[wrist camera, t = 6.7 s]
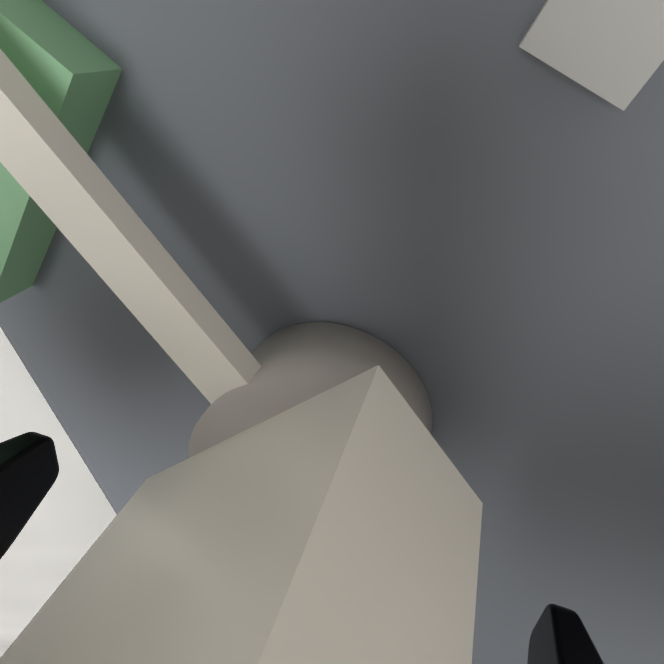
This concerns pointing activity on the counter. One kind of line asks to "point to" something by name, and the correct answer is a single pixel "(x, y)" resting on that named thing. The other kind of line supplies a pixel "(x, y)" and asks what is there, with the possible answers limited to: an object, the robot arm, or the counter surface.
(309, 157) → the dial plate
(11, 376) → the counter surface
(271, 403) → the tuning peg
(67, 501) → the counter surface
